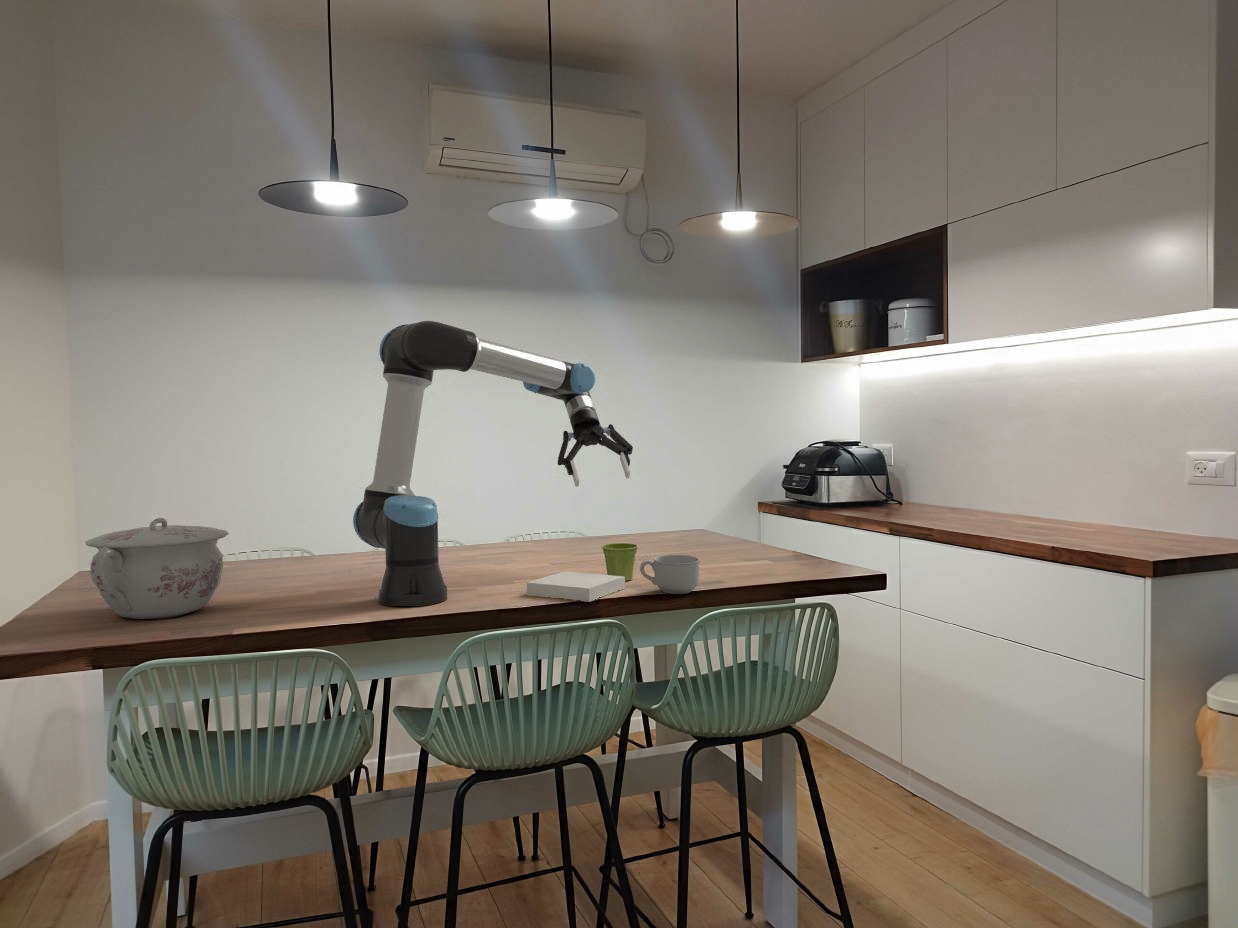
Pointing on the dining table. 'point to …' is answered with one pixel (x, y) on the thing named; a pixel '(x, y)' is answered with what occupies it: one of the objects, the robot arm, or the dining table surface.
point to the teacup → (674, 573)
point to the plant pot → (620, 559)
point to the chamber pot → (157, 569)
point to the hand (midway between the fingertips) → (603, 479)
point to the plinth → (575, 586)
